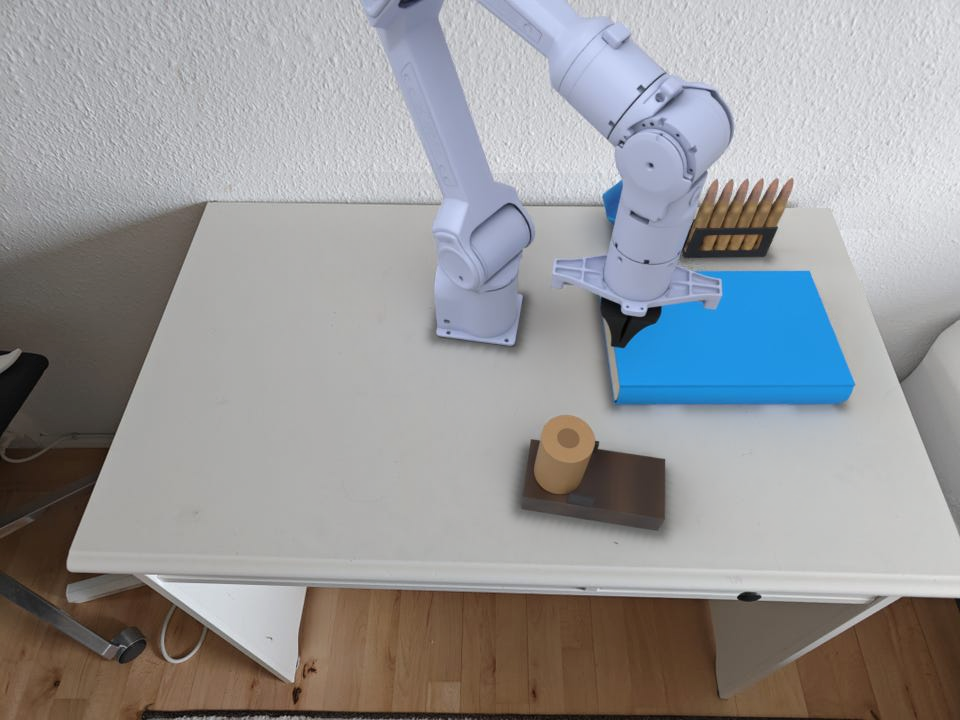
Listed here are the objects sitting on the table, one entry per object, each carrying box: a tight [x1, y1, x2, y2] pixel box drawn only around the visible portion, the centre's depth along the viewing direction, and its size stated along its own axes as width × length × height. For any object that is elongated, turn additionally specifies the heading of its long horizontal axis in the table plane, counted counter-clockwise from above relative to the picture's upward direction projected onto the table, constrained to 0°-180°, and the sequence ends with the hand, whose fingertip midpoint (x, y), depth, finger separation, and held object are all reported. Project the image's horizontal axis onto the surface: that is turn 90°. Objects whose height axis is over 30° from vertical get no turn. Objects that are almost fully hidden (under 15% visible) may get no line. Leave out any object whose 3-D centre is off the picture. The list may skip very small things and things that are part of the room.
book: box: [598, 270, 856, 405], centre depth 73 cm, size 17×4×25 cm
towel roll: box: [534, 414, 596, 494], centre depth 60 cm, size 7×5×5 cm
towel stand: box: [520, 438, 666, 531], centre depth 63 cm, size 14×6×5 cm, turn 80°
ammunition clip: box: [681, 177, 795, 259], centre depth 79 cm, size 11×2×12 cm, turn 91°
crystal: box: [601, 179, 623, 227], centre depth 82 cm, size 7×9×12 cm
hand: (618, 339), depth 63 cm, fingers closed
